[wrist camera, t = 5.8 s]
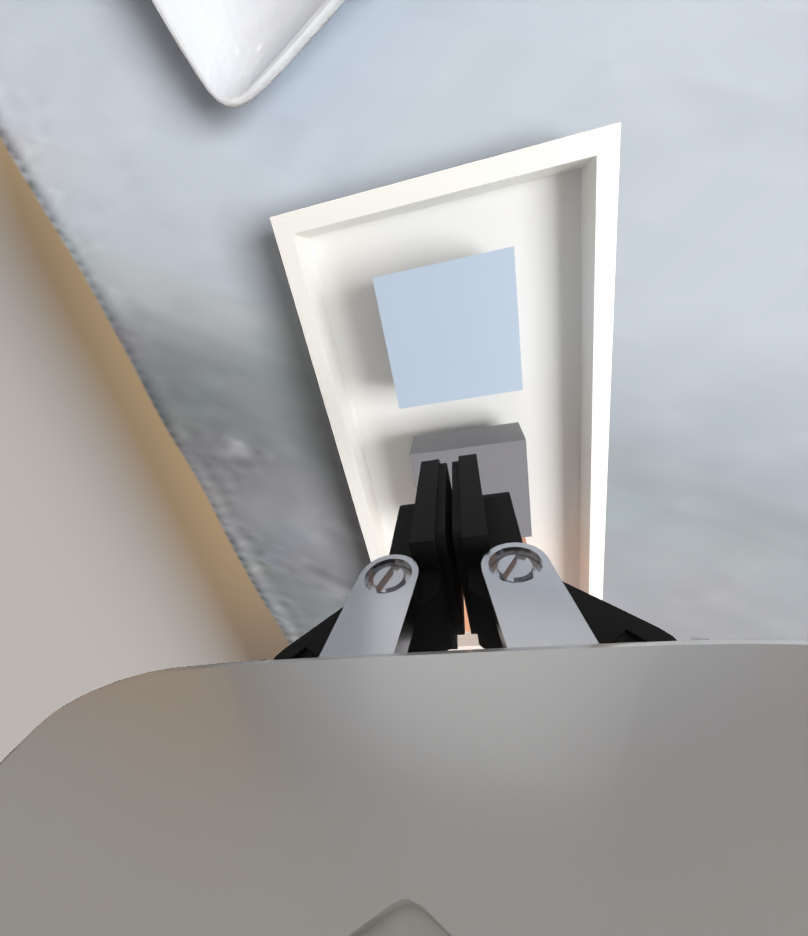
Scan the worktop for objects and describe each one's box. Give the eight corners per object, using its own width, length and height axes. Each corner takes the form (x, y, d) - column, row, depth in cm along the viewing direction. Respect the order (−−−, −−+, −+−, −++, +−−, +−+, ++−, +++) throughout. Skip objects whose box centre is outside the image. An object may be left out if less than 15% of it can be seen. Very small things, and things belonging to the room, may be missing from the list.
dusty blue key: (506, 249, 17) (513, 246, 14) (515, 376, 19) (523, 389, 17) (382, 277, 18) (372, 278, 15) (405, 394, 20) (399, 408, 18)
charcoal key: (518, 421, 20) (525, 439, 18) (524, 511, 22) (531, 536, 20) (413, 436, 21) (409, 454, 19) (430, 520, 23) (427, 545, 21)
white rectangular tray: (594, 146, 16) (621, 121, 14) (586, 614, 28) (600, 649, 26) (295, 225, 19) (269, 217, 16) (403, 622, 31) (398, 655, 28)
